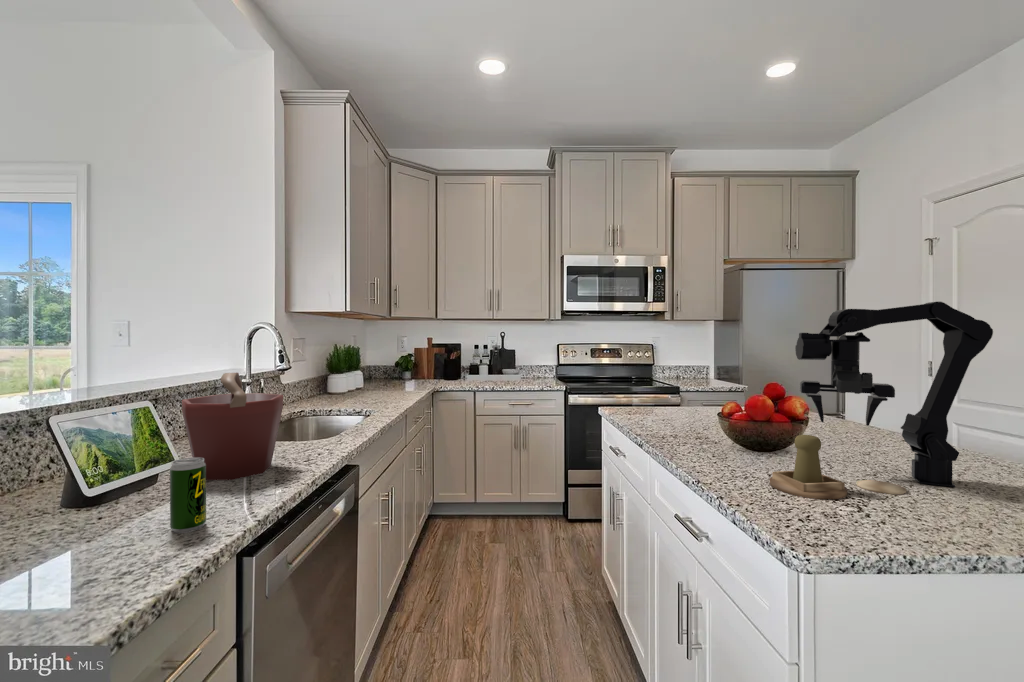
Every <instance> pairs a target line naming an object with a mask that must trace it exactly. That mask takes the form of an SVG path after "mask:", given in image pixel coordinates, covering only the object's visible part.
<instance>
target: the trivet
mask: <svg viewBox="0 0 1024 682" xmlns="http://www.w3.org/2000/svg"><path fill="white" fill-rule="evenodd" d="M771 474H772V476H771V477H769V485H770V487H771V488H773V489H774V488H775V489H774V490H776V489H777V490H776V491H779V492H781V491H782V493H785V494H787V493H788V495H792V496H795V497H796V495H797V497H800V496H802V497H801V498H806V497H807V499H813V498H814V499H815V500H816V499H817V500H827V499H831V500H840V498H841V499H844V498H846V497H847V496H848V488H847V487H846V485H845V482H844V481H841V480H839V479H836V478H834V477H831V476H827V475H824V474H822V481H823V483H802V482H800V481H797V480H795V479H793V474H794V470H781V471H772V473H771Z"/></svg>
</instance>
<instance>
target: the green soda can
mask: <svg viewBox="0 0 1024 682" xmlns="http://www.w3.org/2000/svg"><path fill="white" fill-rule="evenodd" d="M204 461H205V459H204V458H200V457H186V458H185V457H184V458H181V459H180V458H179V459H176V460H173V461H172V462H171V466H170V467H169V517H170V518H169V524H170V525H169V527H170V529H171V531H172V532H173V533H177V534H184V533H185V534H186V533H191V532H194V531H197V530H198V531H199V530H200V529H202V528H203V527H204V526H205V525H206V522H207V480H206V463H205V462H204Z"/></svg>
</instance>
